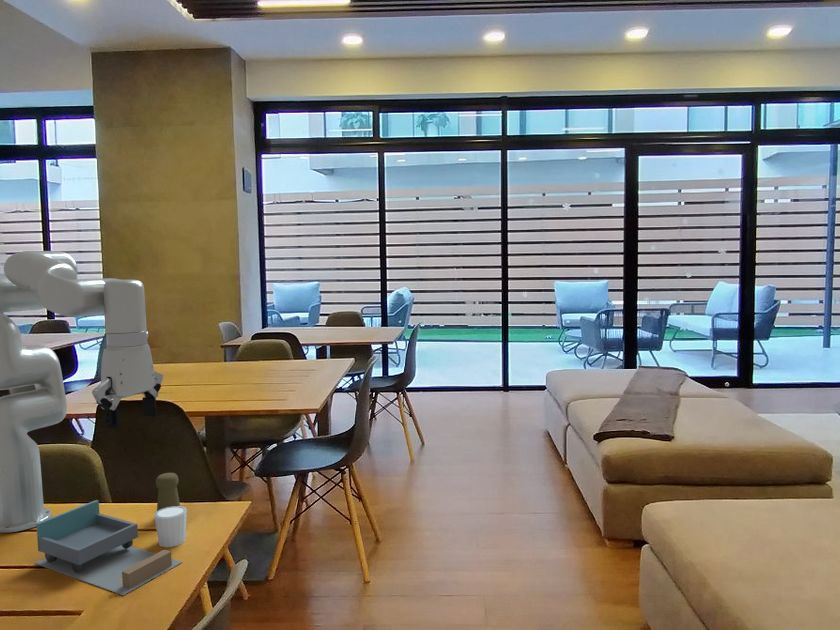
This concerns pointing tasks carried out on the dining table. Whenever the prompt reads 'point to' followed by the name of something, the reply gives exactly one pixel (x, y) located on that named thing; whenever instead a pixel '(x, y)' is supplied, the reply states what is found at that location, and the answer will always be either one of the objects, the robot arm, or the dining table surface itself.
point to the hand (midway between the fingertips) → (132, 422)
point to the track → (118, 568)
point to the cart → (83, 535)
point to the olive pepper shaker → (167, 490)
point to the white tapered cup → (171, 525)
